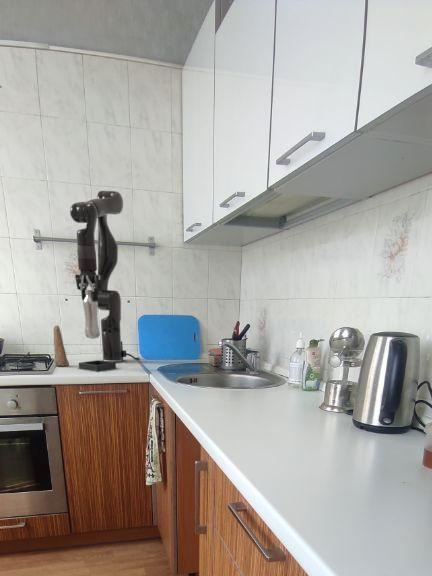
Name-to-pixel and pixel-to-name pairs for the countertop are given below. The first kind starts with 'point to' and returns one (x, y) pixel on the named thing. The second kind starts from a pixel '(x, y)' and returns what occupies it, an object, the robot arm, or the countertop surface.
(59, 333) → the brown tapered cone
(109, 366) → the tray
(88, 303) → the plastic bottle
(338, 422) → the countertop surface
